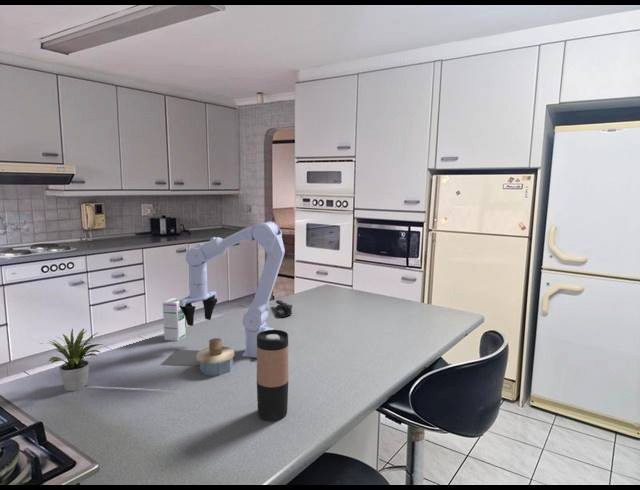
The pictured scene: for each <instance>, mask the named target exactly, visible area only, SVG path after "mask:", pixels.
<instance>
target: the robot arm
mask: <svg viewBox="0 0 640 490" xmlns="http://www.w3.org/2000/svg"><path fill="white" fill-rule="evenodd" d="M247 240H248V241H251V242H252V241H255V242H256V243H258V245H259V246H261V247H262V248H263V250H265V252H266V254H267V256H266V258H265V259H266V260H265V263H264V266H263V269H262V273H261V276H260V278H259V281H258V285H257V288H256V291H255V294H254V297H253V300H252V302H251V303H250V305H249V307H248V310H247V311H246V313H245V314H244V315H243V317H242V324H243V327H244V328H245V329H244V330H245V331H244V332H245V333H244V335H245V338H244V339H245V340H244V341H245V343H244V344H245V350H244V352H243V353H242V354H241V356H242V357H250V358H256V359H257V334H258V333H260V332H262V331H266V330H275V328H274V327H270V326H269V327H268V324H267V323H268V322H267V320H268V319H269V316H270V310H269V308H270V299H271V296H272V293H273V289H274V287H275V284H276V281H277V278H278V275H279V272H280V268H281V265H282V263H283V259H284V257H285V251H286V249H285V244H284V242H283V232H282V230H281V228H280V227H279V225H278V224H277V223H276V222H274V221H266V222H262V223H257V224H255V225H251V226H248V227H245V228H242V229H241V230H238V231H237V232H235V233H232V234H231V235H228V236H227V237H225V238H221V237H216V236H214V237H211V238H210V240H208V241H207V242H204V243H200V244H197V245H198V246H197V247H191V248H190V249H189V250H187V251H186V253H185V261H186V263H187V264H188V273H189V274H188V277H189V279H188V280H189V281H188V282H189V285H188V286H189V294H188V295H187V296H185V297H183V298H180V299H181V300H179V306H180V308H181V310H182V311H183V313H184V315H185V318H186V326H190V327H193V326H194V319H195V318H194V317H195V316H194V315H195V310H196V306H194V305H193V304H195V303H199V302H202V304H203V311H204V319H205V320H207V321H211V320H212V316H213V312H214V309H215V307H216V304H217V303H218V299H217V298H218V291H208V267H207V266H208V264H207V263H208V262H209V261H211V260H214V259H215V258H217V257H219V256H223V255H224V254H226V253H227V251H228V248H230V247H232V246H234V245H238V244H239V243H241V242H244V241H247Z"/></svg>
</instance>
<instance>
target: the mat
mask: <svg viewBox="0 0 640 490" xmlns="http://www.w3.org/2000/svg"><path fill="white" fill-rule="evenodd" d="M199 351H200V350H197V349H194V350H193V349H176V350H175V351H173V352H172V353H171V354H170V355H169V356H168V357H166V358H165V360H163V361H162V362H161V363H160V364H159V365H160V366H178V367H179V366H180V367H197V368H198V367H199V368H200V361H198V360H197V353H198V352H199Z"/></svg>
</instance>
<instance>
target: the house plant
mask: <svg viewBox="0 0 640 490" xmlns="http://www.w3.org/2000/svg"><path fill="white" fill-rule="evenodd" d="M70 332H71V333H70V339H69V338H68V336H67V335H65V334H64V333H62V336H63V338H64V340H62V338H61V337H58V336H56V338H58V339H61V340H62V341H63V343H64V345H65V346H66V347H67V348H64V347H63V345H61V343H59V342H58V341H56V340H55V339H51V338H50V340H49V342H48V344H50V345H52V346H54V347H55V348H57V349H56V351H57V352H59V353H61V354H62V355H63V356H64V357H65V358H66V360H67V361H66V360H65V359H62V358H60V357H57V356H53V357H50V358H49V360H48V362H50V364H53V363H54V362H55V363H56V362H59V361H60V362H61V361H62V362H64V363H63V364H61V365H60V366H59V367H58V369H59V372H60V376H61V379H62V383H63V386H64V390H65V391H67V392H78V391H79V390H83V389H84V388H86V387H87V384H88V381H89V380H88V379H89V378H88V377H89V372H90V370H89V369H90V361H88V360H87V359H85V358H87V357H92V356H95V357H99V356H98V355H97V353H101V351H100V350H98V349H91V348H95V347H97V346H102V345H105V344H104V343H102V344H100V343H97V344H96V343H95V344H90V345H89V342H92V341H93V339H92V338H93V337H94V336H96V335H98V332H96V333H94V334H92V335H91V336H89V338H88V339H87V340H86V341H84V342H83V343H82V340H83V338H84V335H85V334H86V332H87V329H86V330H85V328H82V329H81V330H80V331H79V333H78V334H77V337H76V338H75V339H74V328H71V330H70ZM40 344H43V342H41V343H39V345H40ZM86 345H87V346H86ZM90 349H91V350H90Z"/></svg>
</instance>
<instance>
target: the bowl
mask: <svg viewBox="0 0 640 490" xmlns="http://www.w3.org/2000/svg"><path fill="white" fill-rule="evenodd" d="M233 367H234V357H233V358H232V359H230V360H228V361H225V362H222V363H214V364H209V363H203V362H200V365H199V371H200V372H201V373H202V374H203V375H205V376H214V377H215V376H217V377H218V376H222V375H225V374H228V373H230V372H231V371H232V370H233Z"/></svg>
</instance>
